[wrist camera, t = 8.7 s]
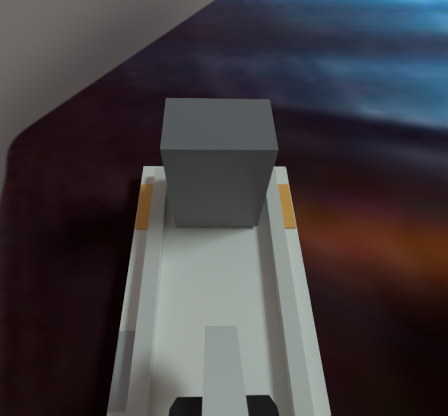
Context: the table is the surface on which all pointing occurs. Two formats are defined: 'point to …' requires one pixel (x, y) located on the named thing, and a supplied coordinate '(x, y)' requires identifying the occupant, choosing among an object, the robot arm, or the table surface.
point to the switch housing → (215, 307)
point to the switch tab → (218, 160)
